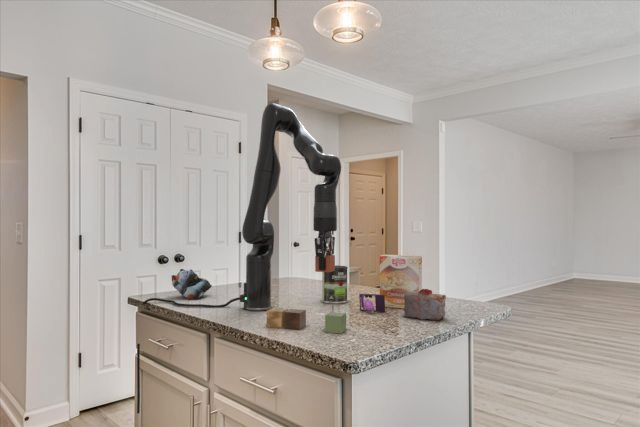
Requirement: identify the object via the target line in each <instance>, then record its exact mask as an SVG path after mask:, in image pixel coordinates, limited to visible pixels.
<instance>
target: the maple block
mask: <svg viewBox="0 0 640 427" xmlns="http://www.w3.org/2000/svg"><path fill="white" fill-rule="evenodd" d="M288 310H289V308H285V307H284V308H282V307H271V309H268V310H266V328H275V329H283V328H285V312H286V311H288Z"/></svg>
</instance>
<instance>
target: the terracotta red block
mask: <svg viewBox="0 0 640 427" xmlns="http://www.w3.org/2000/svg"><path fill="white" fill-rule="evenodd" d="M325 259H326V270H324V271H323V270H319V258H318V257H316V255H315V257H314V261H315V263H314V266H315V268H314V270H315V273H322V272H332V271H335V266H336V255H335V254H332V255H326V258H325Z"/></svg>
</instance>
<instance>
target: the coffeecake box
mask: <svg viewBox="0 0 640 427" xmlns="http://www.w3.org/2000/svg"><path fill="white" fill-rule="evenodd" d="M422 289H423V256H422V255H409V254H408V255H406V254H380V255H379V295H385V308H392V309H404V310H405V299H404V295H405V293H407V292H408V291H410V292H411V291H412V292H419V291H420V290H422Z"/></svg>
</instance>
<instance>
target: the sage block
mask: <svg viewBox="0 0 640 427" xmlns="http://www.w3.org/2000/svg"><path fill="white" fill-rule="evenodd" d="M346 330H347V313H346V312H336V311H329V312H328V313H326V314H324V333H330V334H343V333H344V332H346Z"/></svg>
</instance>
